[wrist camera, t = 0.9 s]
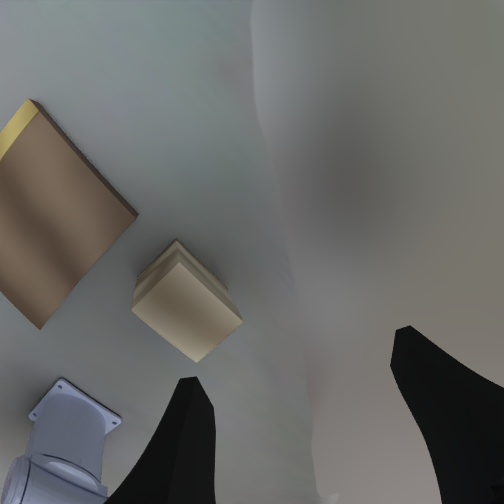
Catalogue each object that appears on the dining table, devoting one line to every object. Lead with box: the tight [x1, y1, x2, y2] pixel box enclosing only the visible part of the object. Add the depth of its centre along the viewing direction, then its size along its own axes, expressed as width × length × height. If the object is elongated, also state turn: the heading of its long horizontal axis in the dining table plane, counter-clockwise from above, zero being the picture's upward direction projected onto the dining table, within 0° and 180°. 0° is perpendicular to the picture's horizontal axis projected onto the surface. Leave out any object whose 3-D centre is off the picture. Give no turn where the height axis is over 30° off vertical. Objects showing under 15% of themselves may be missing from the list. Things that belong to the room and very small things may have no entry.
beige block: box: [131, 238, 243, 363], centre depth 22 cm, size 5×6×6 cm
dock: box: [0, 98, 139, 330], centre depth 18 cm, size 13×13×2 cm
